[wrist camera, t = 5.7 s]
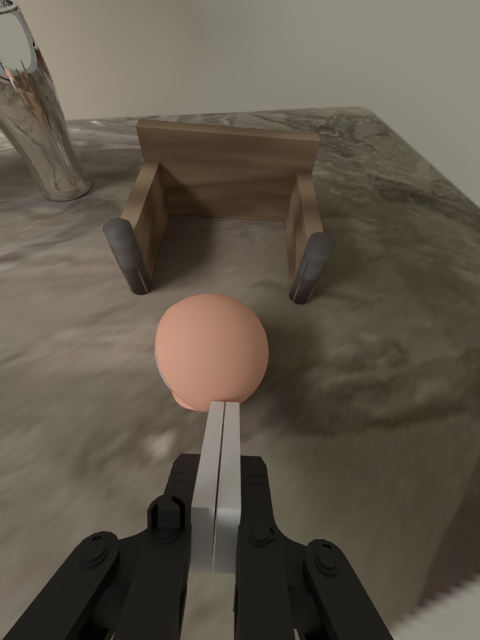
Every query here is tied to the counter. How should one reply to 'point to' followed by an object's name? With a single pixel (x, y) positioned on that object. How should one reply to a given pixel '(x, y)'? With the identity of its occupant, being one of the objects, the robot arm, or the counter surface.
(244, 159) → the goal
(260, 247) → the counter surface
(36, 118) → the beer glass
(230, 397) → the toy ball
